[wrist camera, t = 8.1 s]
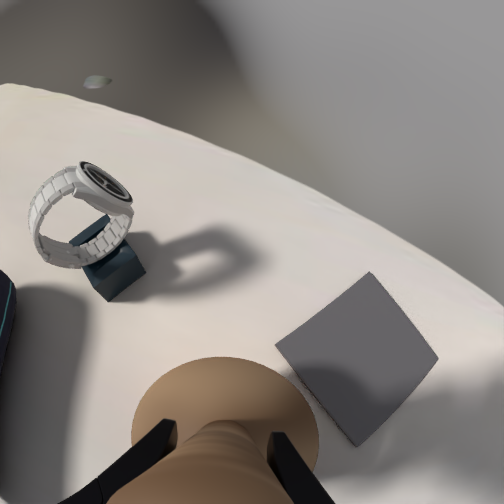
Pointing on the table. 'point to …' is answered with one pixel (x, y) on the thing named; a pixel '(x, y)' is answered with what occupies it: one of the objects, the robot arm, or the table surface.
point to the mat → (359, 357)
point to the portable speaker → (6, 312)
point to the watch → (90, 229)
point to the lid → (220, 434)
